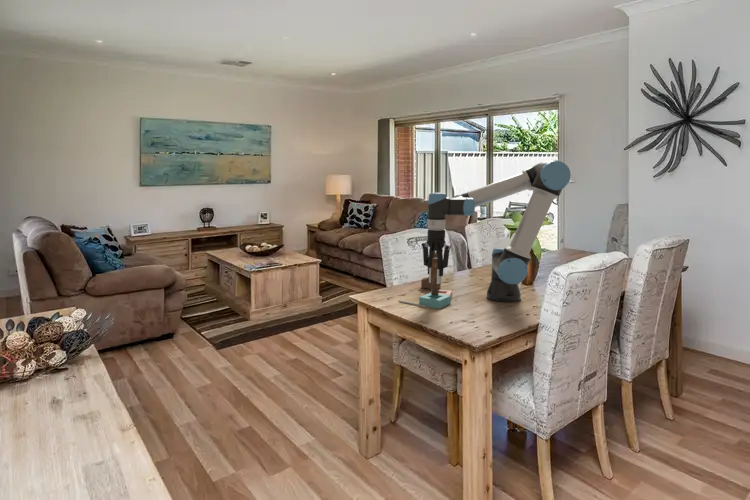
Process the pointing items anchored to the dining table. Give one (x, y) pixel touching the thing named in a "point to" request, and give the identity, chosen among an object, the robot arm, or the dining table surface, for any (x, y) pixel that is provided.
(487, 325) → the dining table surface
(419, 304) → the grey cord
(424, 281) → the wooden block
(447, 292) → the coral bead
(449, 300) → the teal bead
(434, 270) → the brown square post
